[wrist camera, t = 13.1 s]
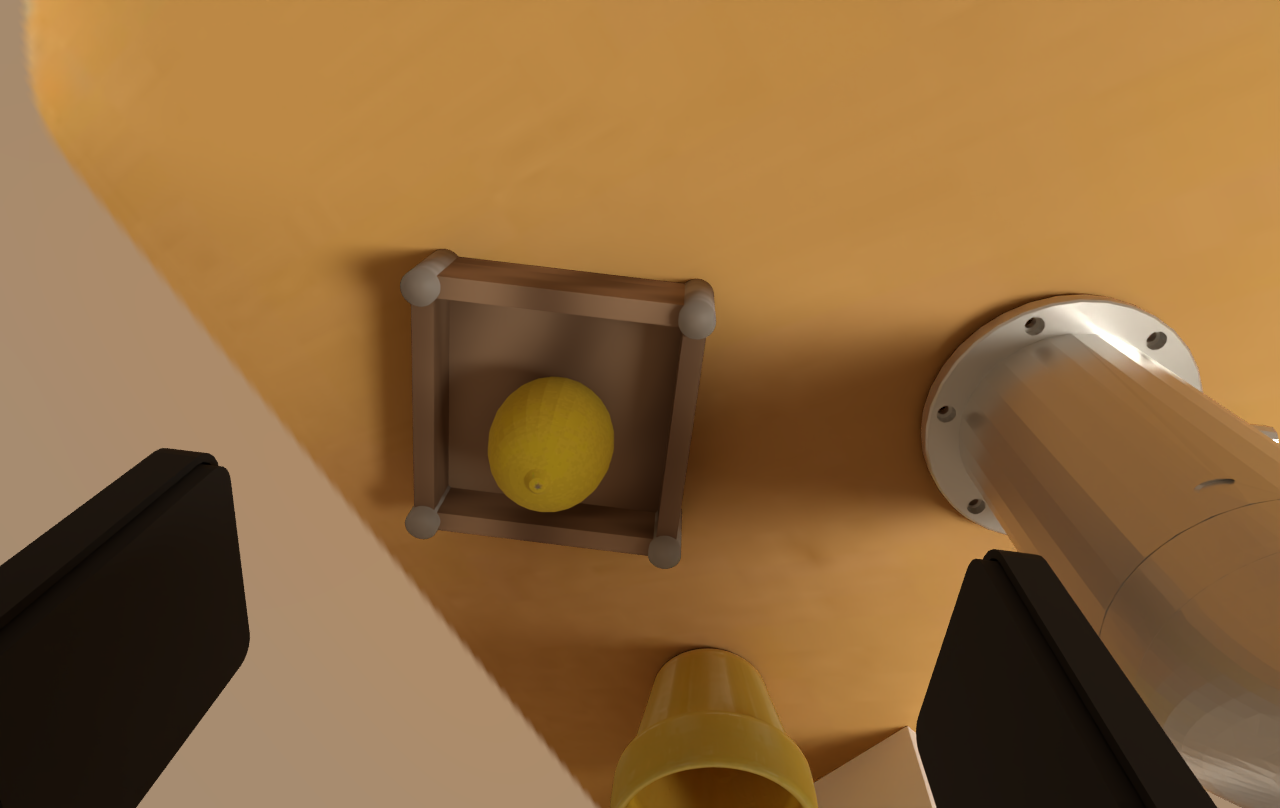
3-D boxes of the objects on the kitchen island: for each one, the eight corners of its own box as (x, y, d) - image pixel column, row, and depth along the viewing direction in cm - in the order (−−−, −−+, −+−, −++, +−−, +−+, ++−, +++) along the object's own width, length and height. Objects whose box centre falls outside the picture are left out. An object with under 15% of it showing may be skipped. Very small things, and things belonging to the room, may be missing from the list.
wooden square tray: (716, 280, 37) (718, 305, 34) (679, 526, 43) (678, 570, 39) (428, 247, 37) (399, 268, 34) (429, 495, 43) (405, 536, 39)
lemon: (535, 468, 41) (503, 559, 33) (490, 373, 39) (445, 447, 31) (636, 437, 40) (626, 523, 32) (595, 337, 38) (574, 406, 30)
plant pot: (789, 760, 49) (810, 917, 40) (622, 750, 50) (607, 903, 41) (806, 626, 45) (834, 768, 36) (624, 616, 45) (607, 754, 37)
